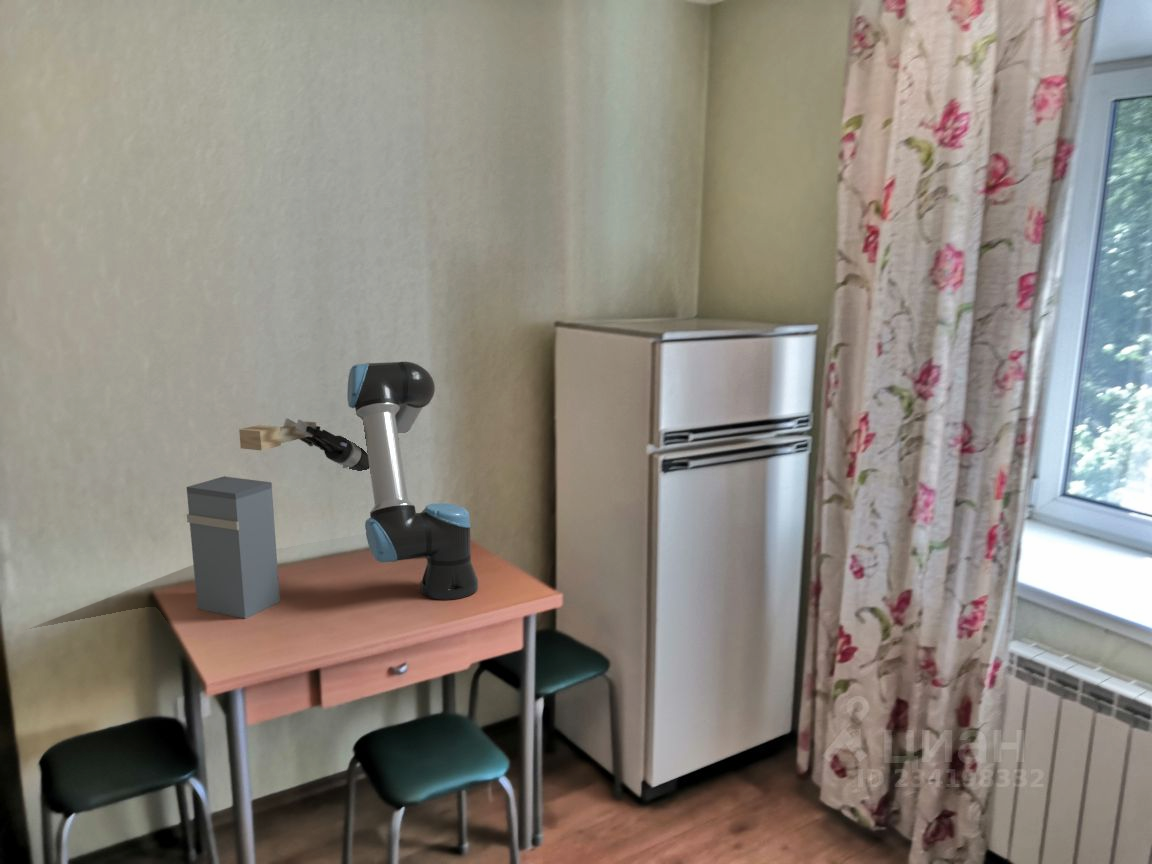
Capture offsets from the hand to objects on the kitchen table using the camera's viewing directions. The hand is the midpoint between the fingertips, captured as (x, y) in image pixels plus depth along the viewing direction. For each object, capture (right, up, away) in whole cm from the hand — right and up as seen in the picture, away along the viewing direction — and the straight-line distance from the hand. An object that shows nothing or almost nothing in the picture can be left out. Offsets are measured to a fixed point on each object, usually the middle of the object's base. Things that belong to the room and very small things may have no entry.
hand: (291, 423), depth 233 cm
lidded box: (-9, -47, -13) cm, 50 cm away
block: (-2, -5, -3) cm, 6 cm away
